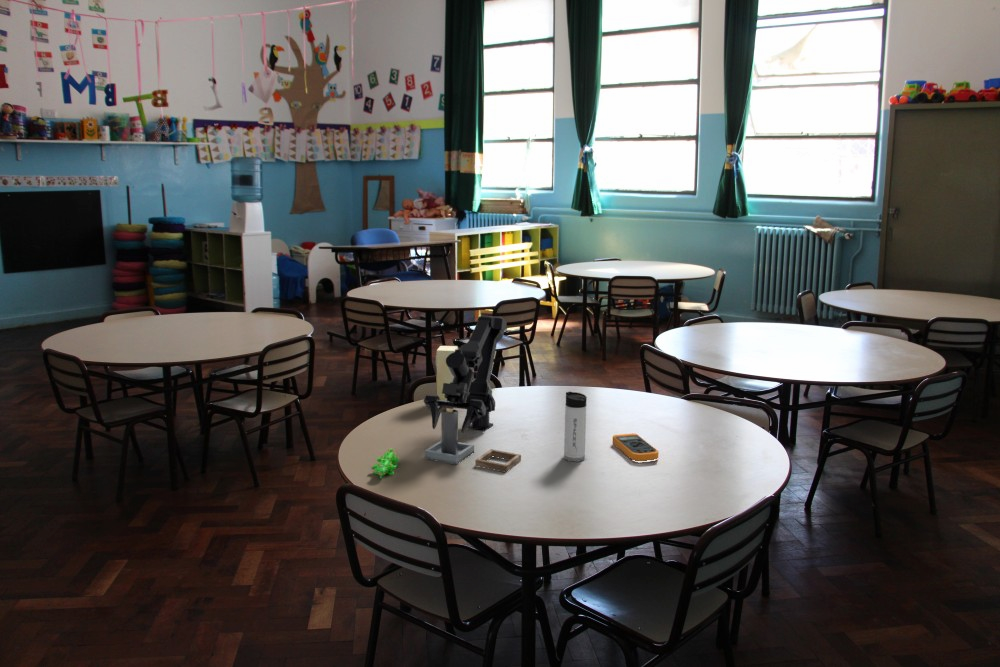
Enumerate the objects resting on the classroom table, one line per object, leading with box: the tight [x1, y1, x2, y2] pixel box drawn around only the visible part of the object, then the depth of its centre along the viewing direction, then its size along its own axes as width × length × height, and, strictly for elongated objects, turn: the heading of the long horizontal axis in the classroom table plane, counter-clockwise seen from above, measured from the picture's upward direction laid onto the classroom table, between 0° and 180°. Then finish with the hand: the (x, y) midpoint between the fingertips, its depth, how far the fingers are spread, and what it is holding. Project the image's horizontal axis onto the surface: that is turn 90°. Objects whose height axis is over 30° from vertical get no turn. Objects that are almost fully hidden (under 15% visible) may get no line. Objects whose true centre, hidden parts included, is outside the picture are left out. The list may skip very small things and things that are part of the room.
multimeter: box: [612, 432, 659, 461], centre depth 242 cm, size 9×18×3 cm, turn 15°
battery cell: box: [440, 407, 459, 455], centre depth 236 cm, size 5×5×14 cm
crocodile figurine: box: [372, 447, 400, 479], centre depth 227 cm, size 7×18×4 cm, turn 176°
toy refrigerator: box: [435, 345, 459, 401], centre depth 287 cm, size 8×7×21 cm
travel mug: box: [563, 391, 588, 462], centre depth 235 cm, size 6×7×20 cm
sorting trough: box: [423, 440, 475, 465], centre depth 238 cm, size 11×11×2 cm
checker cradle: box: [474, 449, 522, 473], centre depth 232 cm, size 10×10×2 cm
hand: (447, 430), depth 235 cm, fingers open, 9 cm apart
